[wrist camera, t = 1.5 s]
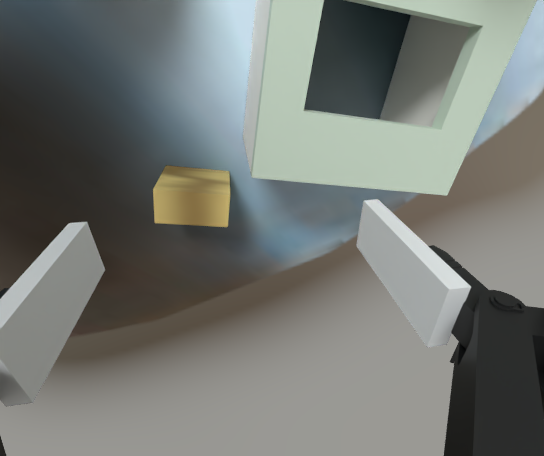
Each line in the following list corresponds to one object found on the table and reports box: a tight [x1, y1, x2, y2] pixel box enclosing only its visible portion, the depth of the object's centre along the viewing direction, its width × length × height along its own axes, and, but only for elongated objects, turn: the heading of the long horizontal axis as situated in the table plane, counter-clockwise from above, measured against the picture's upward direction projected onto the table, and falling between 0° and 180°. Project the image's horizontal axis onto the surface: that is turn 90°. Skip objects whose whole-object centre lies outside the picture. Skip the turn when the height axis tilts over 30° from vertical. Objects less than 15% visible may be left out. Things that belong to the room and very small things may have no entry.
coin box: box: [243, 0, 537, 195], centre depth 21 cm, size 14×14×11 cm
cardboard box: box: [153, 165, 230, 227], centre depth 27 cm, size 6×3×6 cm, turn 82°
